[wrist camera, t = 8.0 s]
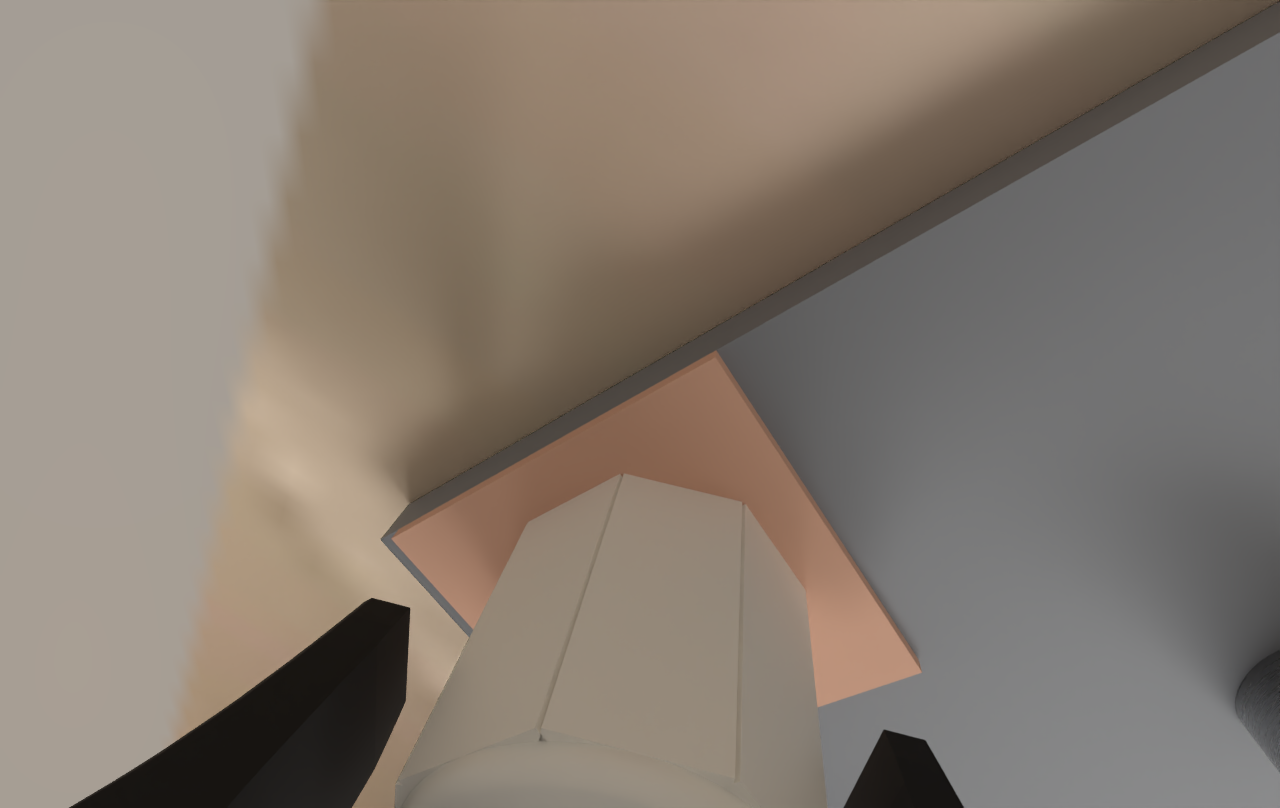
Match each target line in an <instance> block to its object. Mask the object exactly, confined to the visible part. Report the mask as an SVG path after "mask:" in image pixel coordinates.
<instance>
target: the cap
mask: <svg viewBox="0 0 1280 808" xmlns="http://www.w3.org/2000/svg"><path fill="white" fill-rule="evenodd" d="M395 808H828V807H827V797H826V787H825V777H824V767H823V757H822V747H821V738H820V728H819V718H818V708H817V698H816V688H815V678H814V668H813V658H812V648H811V639H810V629H809V619H808V609H807V599H806V590H805V588H804V587H803V586H802V584H801V583H800V581H799V580H798V578H797V577H796V576H795V574H794V573H793V571H792V570H791V568H790V567H789V566H788V564H787V563H786V561H785V560H784V558H783V557H782V555H781V554H780V553H779V551H778V550H777V548H776V547H775V545H774V544H773V543H772V541H771V540H770V538H769V537H768V535H767V534H766V533H765V531H764V530H763V528H762V527H761V525H760V524H759V522H758V521H757V520H756V518H755V517H754V515H753V514H752V512H751V511H750V510H749V508H748V507H747V505H746V504H744V505H742V502H741V501H737V500H733V499H729V498H724V497H720V496H716V495H712V494H708V493H704V492H699V491H695V490H691V489H687V488H683V487H679V486H674V485H670V484H666V483H662V482H658V481H654V480H649V479H645V478H641V477H637V476H633V475H629V474H625V473H624V474H623V477H622V476H621V474H619V475H617V476H615V477H613V478H611V479H609V480H607V481H605V482H603V483H601V484H599V485H598V486H596V487H594V488H592V489H590V490H588V491H586V492H584V493H582V494H580V495H578V496H577V497H575V498H573V499H571V500H569V501H567V502H565V503H563V504H561V505H559V506H557V507H556V508H554V509H552V510H550V511H548V512H546V513H544V514H542V515H540V516H538V517H537V518H535V519H533V520H531V521H529V522H528V523H527V524H526V526H525V528H524V530H523V532H522V534H521V536H520V538H519V540H518V542H517V544H516V546H515V548H514V550H513V552H512V554H511V556H510V558H509V560H508V562H507V564H506V566H505V568H504V570H503V572H502V574H501V576H500V578H499V580H498V582H497V584H496V586H495V588H494V590H493V592H492V594H491V596H490V598H489V600H488V602H487V604H486V606H485V608H484V610H483V612H482V614H481V616H480V618H479V620H478V621H477V623H476V625H475V627H474V629H473V631H472V633H471V635H470V637H469V639H468V641H467V643H466V645H465V647H464V649H463V651H462V653H461V655H460V657H459V659H458V661H457V663H456V665H455V667H454V669H453V671H452V673H451V675H450V677H449V679H448V681H447V683H446V685H445V687H444V689H443V691H442V693H441V695H440V697H439V699H438V701H437V703H436V705H435V707H434V709H433V711H432V713H431V715H430V717H429V719H428V721H427V723H426V725H425V727H424V729H423V731H422V733H421V734H420V736H419V738H418V740H417V742H416V744H415V746H414V748H413V750H412V752H411V754H410V756H409V758H408V760H407V762H406V764H405V766H404V768H403V770H402V772H401V774H400V776H399V778H398V780H397V782H396V789H395Z"/></svg>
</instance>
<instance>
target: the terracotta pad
mask: <svg viewBox="0 0 1280 808" xmlns="http://www.w3.org/2000/svg"><path fill="white" fill-rule="evenodd" d="M624 473H625V474H629V475H633V476H637V477H641V478H645V479H649V480H654V481H658V482H662V483H666V484H670V485H674V486H679V487H683V488H687V489H691V490H695V491H699V492H704V493H708V494H712V495H716V496H720V497H724V498H729V499H733V500H737V501H741V502H742V505H744V504H746V505H747V507H748V508H749V510H750V511H751V512H752V514H753V515H754V517H755V518H756V520H757V521H758V522H759V524H760V525H761V527H762V528H763V530H764V531H765V533H766V534H767V535H768V537H769V538H770V540H771V541H772V543H773V544H774V545H775V547H776V548H777V550H778V551H779V553H780V554H781V555H782V557H783V558H784V560H785V561H786V563H787V564H788V566H789V567H790V568H791V570H792V571H793V573H794V574H795V576H796V577H797V578H798V580H799V581H800V583H801V584H802V586H803V587H804V588H805V590H806V599H807V609H808V619H809V629H810V639H811V648H812V658H813V668H814V678H815V688H816V698H817V707H820V706H823V705H826V704H829V703H832V702H835V701H838V700H841V699H844V698H847V697H850V696H853V695H856V694H859V693H862V692H865V691H868V690H871V689H874V688H877V687H880V686H883V685H886V684H889V683H892V682H895V681H898V680H901V679H904V678H907V677H910V676H913V675H916V674H919V673H922V670H921V666H920V663H919V660H918V658H917V656H916V655H915V653H914V652H913V650H912V649H911V647H910V646H909V644H908V643H907V641H906V640H905V638H904V637H903V635H902V634H901V632H900V630H899V629H898V627H897V626H896V624H895V623H894V621H893V620H892V618H891V617H890V615H889V614H888V612H887V611H886V609H885V608H884V606H883V604H882V603H881V601H880V600H879V598H878V597H877V595H876V594H875V592H874V591H873V589H872V588H871V586H870V585H869V583H868V582H867V580H866V578H865V577H864V575H863V574H862V572H861V571H860V569H859V568H858V566H857V565H856V563H855V562H854V560H853V559H852V557H851V556H850V554H849V552H848V551H847V549H846V548H845V546H844V545H843V543H842V542H841V540H840V539H839V537H838V536H837V534H836V533H835V531H834V530H833V528H832V526H831V525H830V523H829V522H828V520H827V519H826V517H825V516H824V514H823V513H822V511H821V510H820V508H819V507H818V505H817V504H816V502H815V500H814V499H813V497H812V496H811V494H810V493H809V491H808V490H807V488H806V487H805V485H804V484H803V482H802V481H801V479H800V478H799V476H798V474H797V473H796V471H795V470H794V468H793V467H792V465H791V464H790V462H789V461H788V459H787V458H786V456H785V455H784V453H783V452H782V450H781V448H780V447H779V445H778V444H777V442H776V441H775V439H774V438H773V436H772V435H771V433H770V432H769V430H768V429H767V427H766V426H765V424H764V422H763V421H762V419H761V418H760V416H759V415H758V413H757V412H756V410H755V409H754V407H753V406H752V404H751V403H750V401H749V400H748V398H747V396H746V395H745V393H744V392H743V390H742V389H741V387H740V386H739V384H738V383H737V381H736V380H735V378H734V377H733V375H732V374H731V372H730V370H729V369H728V367H727V366H726V364H725V363H724V361H723V360H722V358H721V357H720V355H719V354H718V352H717V351H714V352H712V353H710V354H709V355H707V356H705V357H703V358H701V359H700V360H698V361H696V362H694V363H693V364H691V365H689V366H687V367H686V368H684V369H682V370H680V371H678V372H677V373H675V374H673V375H671V376H670V377H668V378H666V379H664V380H662V381H661V382H659V383H657V384H655V385H654V386H652V387H650V388H648V389H647V390H645V391H643V392H641V393H639V394H638V395H636V396H634V397H632V398H631V399H629V400H627V401H625V402H623V403H622V404H620V405H618V406H616V407H615V408H613V409H611V410H609V411H608V412H606V413H604V414H602V415H600V416H599V417H597V418H595V419H593V420H592V421H590V422H588V423H586V424H584V425H583V426H581V427H579V428H577V429H576V430H574V431H572V432H570V433H569V434H567V435H565V436H563V437H561V438H560V439H558V440H556V441H554V442H553V443H551V444H549V445H547V446H545V447H544V448H542V449H540V450H538V451H537V452H535V453H533V454H531V455H530V456H528V457H526V458H524V459H522V460H521V461H519V462H517V463H515V464H514V465H512V466H510V467H508V468H506V469H505V470H503V471H501V472H499V473H498V474H496V475H494V476H492V477H491V478H489V479H487V480H485V481H483V482H482V483H480V484H478V485H476V486H475V487H473V488H471V489H469V490H467V491H466V492H464V493H462V494H460V495H459V496H457V497H455V498H453V499H452V500H450V501H448V502H446V503H444V504H443V505H441V506H439V507H437V508H436V509H434V510H432V511H430V512H428V513H427V514H425V515H423V516H421V517H420V518H418V519H416V520H414V521H413V522H411V523H409V524H407V525H405V526H404V527H402V528H400V529H399V530H398V531H397V532H396V533H395V535H394V536H393V537H392V538H391V539H392V540H393V541H394V543H395V544H396V545H397V546H398V547H399V548H400V549H401V550H402V551H403V552H404V554H405V555H406V556H407V557H408V558H409V559H410V560H411V561H412V562H413V564H414V565H415V566H416V567H417V568H418V569H419V570H420V571H421V572H422V573H423V575H424V576H425V577H426V578H427V579H428V580H429V581H430V582H431V583H432V585H433V586H434V587H435V588H436V589H437V590H438V591H439V592H440V593H441V595H442V596H443V597H444V598H445V599H446V600H447V601H448V602H449V603H450V604H451V606H452V607H453V608H454V609H455V610H456V611H457V612H458V613H459V614H460V616H461V617H462V618H463V619H464V620H465V621H466V622H467V623H468V624H469V626H470V627H471V628H472V629H474V627H475V625H476V623H477V621H478V620H479V618H480V616H481V614H482V612H483V610H484V608H485V606H486V604H487V602H488V600H489V598H490V596H491V594H492V592H493V590H494V588H495V586H496V584H497V582H498V580H499V578H500V576H501V574H502V572H503V570H504V568H505V566H506V564H507V562H508V560H509V558H510V556H511V554H512V552H513V550H514V548H515V546H516V544H517V542H518V540H519V538H520V536H521V534H522V532H523V530H524V528H525V526H526V524H527V523H528V522H529V521H531V520H533V519H535V518H537V517H538V516H540V515H542V514H544V513H546V512H548V511H550V510H552V509H554V508H556V507H557V506H559V505H561V504H563V503H565V502H567V501H569V500H571V499H573V498H575V497H577V496H578V495H580V494H582V493H584V492H586V491H588V490H590V489H592V488H594V487H596V486H598V485H599V484H601V483H603V482H605V481H607V480H609V479H611V478H613V477H615V476H617V475H619V474H621V476H622V477H623V474H624Z"/></svg>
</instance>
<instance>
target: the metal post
mask: <svg viewBox="0 0 1280 808" xmlns="http://www.w3.org/2000/svg"><path fill="white" fill-rule="evenodd" d="M1235 708H1236V713H1237V715H1238V718H1239V719H1240V721H1241V723H1242V724H1243V725H1244V727H1245V728H1246V729H1247V731H1248V732H1249V733H1250V735H1251V736H1252V737H1253V739H1254V740H1255V741H1256V743H1257V744H1258V745H1259V747H1260V748H1261V749H1262V751H1263V752H1264V753H1265V755H1266V756H1267V757H1268V759H1269V760H1270V761H1271V763H1272V764H1273V765H1274V767H1275V768H1276V769H1277V771H1278V772H1279V773H1280V650H1279V651H1277V652H1275V653H1273V654H1271V655H1269V656H1268V657H1267V658H1265V659H1264V660H1262V661H1261V662H1259V663H1258V664H1257V665H1256V666H1255V667H1253V668H1252V669H1251V670H1250V672H1249V673H1248V674H1247V675H1246V676H1245V678H1244V679H1243V680H1242V682H1241V684H1240V686H1239V688H1238V690H1237V693H1236V697H1235Z"/></svg>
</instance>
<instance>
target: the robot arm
mask: <svg viewBox="0 0 1280 808" xmlns="http://www.w3.org/2000/svg"><path fill="white" fill-rule="evenodd" d="M409 622H410V608H409V607H405V606H401V605H397V604H393V603H389V602H386V601H382V600H378V599H374V598H371V599H369V600H367V601H365V602H364V603H363V604H361V605H360V606H359V607H358V608H356V609H355V610H354V611H353V612H351V613H350V614H349V615H348V616H346V617H345V618H344V619H343V620H341V621H340V622H339V623H338V624H336V625H335V626H334V627H333V628H331V629H330V630H329V631H327V632H326V633H325V634H324V635H322V636H321V637H320V638H319V639H317V640H316V641H315V642H313V643H312V644H311V645H310V646H308V647H307V648H306V649H304V650H303V651H302V652H300V653H299V654H298V655H297V656H295V657H294V658H293V659H291V660H290V661H289V662H287V663H286V664H285V665H283V666H282V667H281V668H279V669H278V670H277V671H275V672H274V673H273V674H271V675H270V676H269V677H267V678H266V679H264V680H263V681H262V682H260V683H259V684H258V685H256V686H255V687H254V688H252V689H251V690H249V691H248V692H247V693H245V694H244V695H243V696H241V697H240V698H239V699H237V700H236V701H234V702H233V703H232V704H230V705H229V706H227V707H226V708H224V709H223V710H222V711H220V712H219V713H217V714H216V715H214V716H213V717H211V718H210V719H208V720H207V721H205V722H204V723H202V724H201V725H199V726H198V727H196V728H195V729H194V730H192V731H191V732H189V733H188V734H186V735H185V736H183V737H182V738H180V739H179V740H177V741H176V742H174V743H173V744H171V745H170V746H168V747H167V748H165V749H164V750H162V751H161V752H159V753H158V754H156V755H155V756H153V757H152V758H150V759H148V760H147V761H145V762H144V763H142V764H141V765H139V766H137V767H136V768H134V769H133V770H131V771H129V772H128V773H126V774H125V775H123V776H121V777H120V778H118V779H116V780H115V781H113V782H112V783H110V784H108V785H107V786H105V787H103V788H101V789H100V790H98V791H97V792H95V793H93V794H92V795H90V796H88V797H86V798H85V799H83V800H81V801H80V802H78V803H76V804H75V805H73V806H71V807H69V808H352V806H353V805H354V803H355V801H356V800H357V798H358V796H359V795H360V793H361V791H362V789H363V788H364V786H365V784H366V783H367V781H368V779H369V777H370V776H371V774H372V772H373V770H374V769H375V767H376V765H377V762H378V760H379V758H380V756H381V754H382V752H383V750H384V748H385V746H386V743H387V741H388V739H389V737H390V735H391V733H392V730H393V728H394V726H395V724H396V721H397V719H398V717H399V715H400V713H401V710H402V708H403V706H404V704H405V702H406V683H407V663H408V643H409ZM844 808H964V806H963V805H962V803H961V801H960V799H959V798H958V796H957V794H956V792H955V791H954V789H953V787H952V785H951V783H950V782H949V780H948V778H947V776H946V775H945V773H944V771H943V769H942V768H941V766H940V764H939V762H938V761H937V759H936V757H935V756H934V754H933V752H932V750H931V749H930V747H929V745H928V744H927V742H926V740H924V739H920V738H916V737H912V736H908V735H904V734H900V733H896V732H892V731H888V730H885V729H884V730H883V732H882V734H881V735H880V737H879V739H878V741H877V743H876V745H875V747H874V749H873V751H872V753H871V755H870V757H869V759H868V761H867V763H866V765H865V767H864V769H863V771H862V772H861V774H860V776H859V778H858V780H857V782H856V784H855V786H854V788H853V790H852V792H851V794H850V796H849V798H848V800H847V802H846V804H845V806H844Z"/></svg>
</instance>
